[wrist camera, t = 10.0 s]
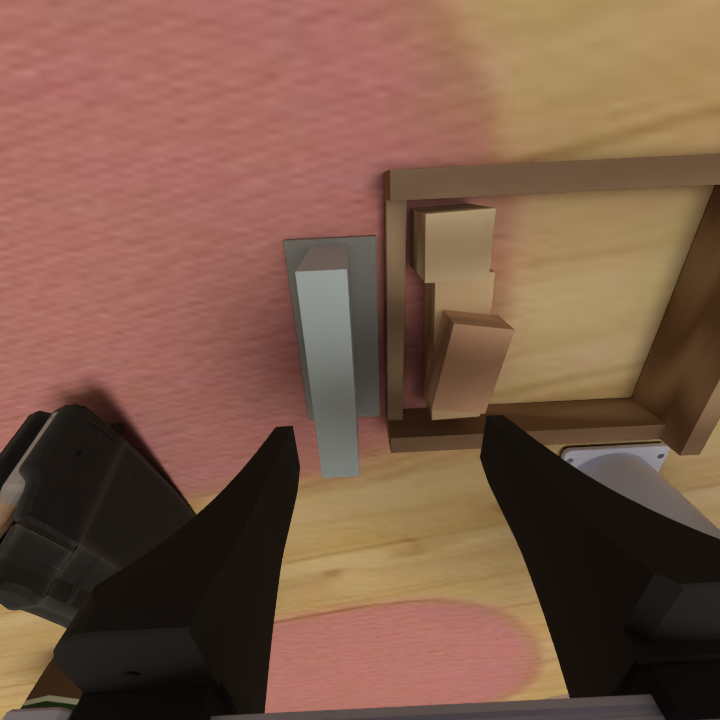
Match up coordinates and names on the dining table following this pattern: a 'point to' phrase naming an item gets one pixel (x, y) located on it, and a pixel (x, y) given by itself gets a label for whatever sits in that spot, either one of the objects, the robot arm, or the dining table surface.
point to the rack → (668, 353)
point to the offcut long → (454, 298)
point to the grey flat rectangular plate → (362, 314)
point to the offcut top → (466, 361)
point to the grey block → (330, 356)
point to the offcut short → (452, 242)
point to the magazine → (76, 510)
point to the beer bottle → (53, 690)
